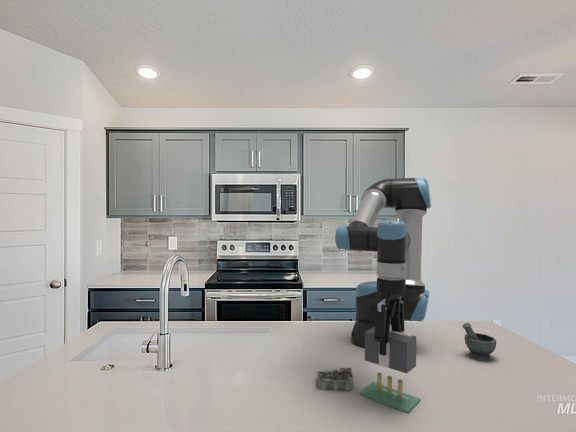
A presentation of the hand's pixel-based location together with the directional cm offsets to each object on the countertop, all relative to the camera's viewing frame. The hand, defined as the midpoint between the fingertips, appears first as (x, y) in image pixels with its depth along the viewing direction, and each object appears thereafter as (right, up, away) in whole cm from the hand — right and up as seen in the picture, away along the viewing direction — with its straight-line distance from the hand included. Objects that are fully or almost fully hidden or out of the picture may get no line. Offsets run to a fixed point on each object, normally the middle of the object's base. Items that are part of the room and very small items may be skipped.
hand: (389, 362), depth 95 cm
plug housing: (0, 0, 0) cm, 0 cm away
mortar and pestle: (+39, -10, +28) cm, 50 cm away
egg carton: (-14, -10, +7) cm, 19 cm away
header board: (0, -10, 0) cm, 10 cm away
